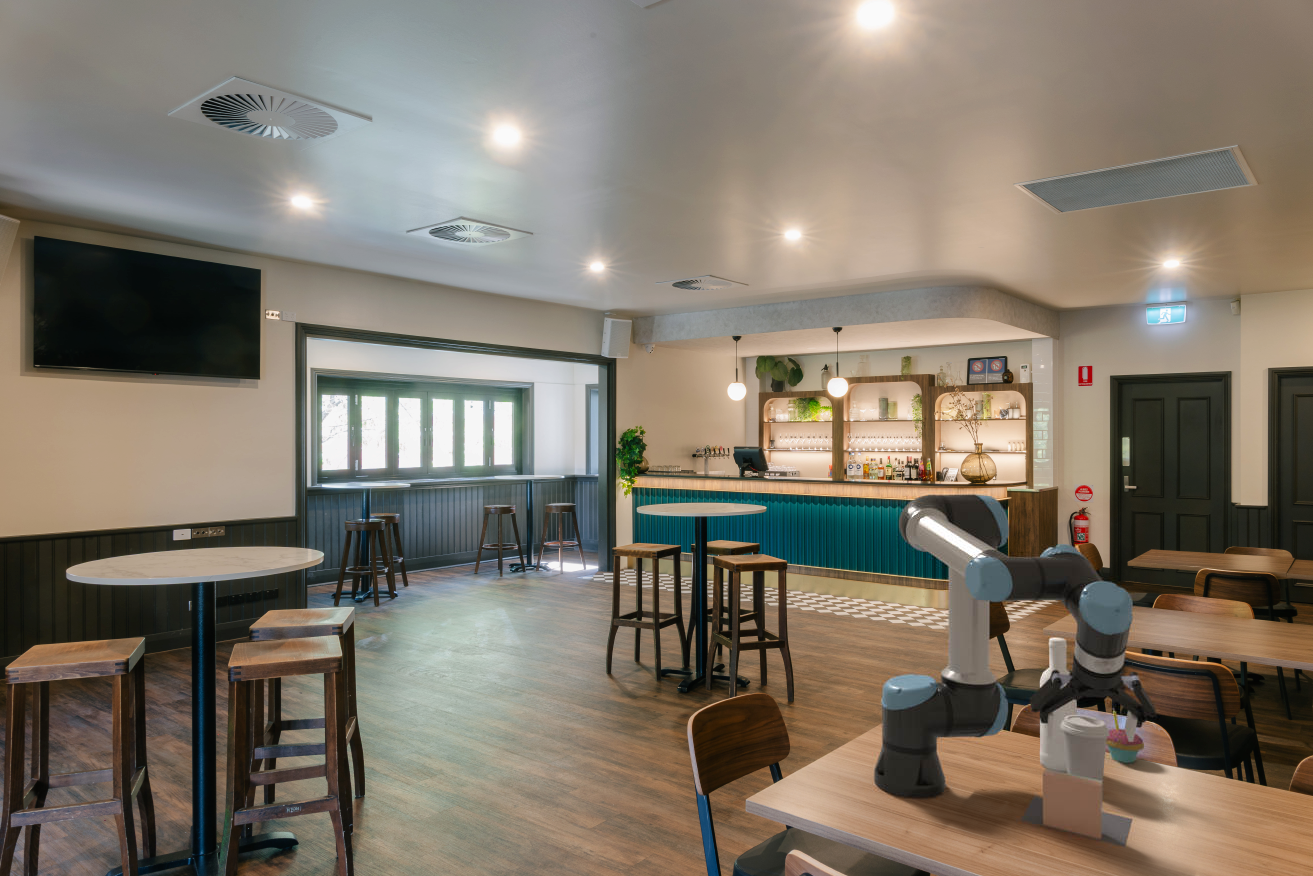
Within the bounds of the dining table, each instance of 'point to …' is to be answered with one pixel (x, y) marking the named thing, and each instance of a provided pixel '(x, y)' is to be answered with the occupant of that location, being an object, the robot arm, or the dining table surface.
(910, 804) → the dining table surface
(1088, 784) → the tile
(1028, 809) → the mat
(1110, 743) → the cupcake
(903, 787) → the robot arm
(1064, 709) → the bottle
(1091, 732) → the coffee cup
